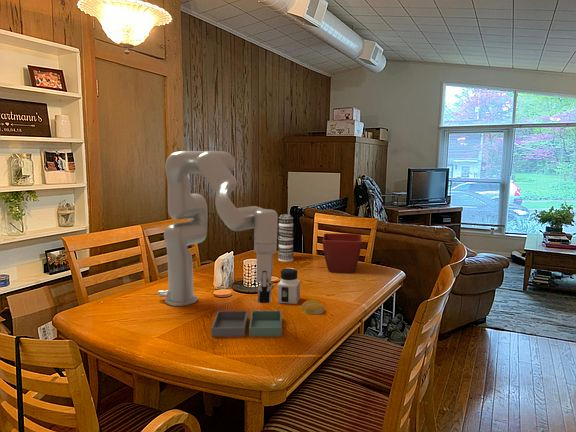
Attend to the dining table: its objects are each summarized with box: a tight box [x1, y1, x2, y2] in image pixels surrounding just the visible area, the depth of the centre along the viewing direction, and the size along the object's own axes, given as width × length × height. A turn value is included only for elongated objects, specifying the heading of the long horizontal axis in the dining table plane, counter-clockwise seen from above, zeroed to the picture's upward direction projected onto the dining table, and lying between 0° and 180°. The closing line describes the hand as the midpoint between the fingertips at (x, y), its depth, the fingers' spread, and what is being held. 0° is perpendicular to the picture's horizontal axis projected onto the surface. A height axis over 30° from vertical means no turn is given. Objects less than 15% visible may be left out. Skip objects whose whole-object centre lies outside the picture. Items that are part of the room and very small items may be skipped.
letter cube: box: [257, 284, 273, 304], centre depth 146 cm, size 4×4×4 cm
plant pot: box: [321, 233, 363, 274], centre depth 221 cm, size 19×19×17 cm
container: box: [277, 267, 301, 305], centre depth 175 cm, size 8×8×13 cm
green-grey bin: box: [248, 310, 283, 338], centre depth 147 cm, size 10×15×4 cm
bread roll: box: [300, 299, 325, 315], centre depth 164 cm, size 8×9×4 cm
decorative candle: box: [277, 213, 295, 263], centre depth 239 cm, size 9×9×25 cm
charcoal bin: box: [210, 310, 249, 338], centre depth 147 cm, size 10×15×4 cm
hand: (264, 299), depth 147 cm, fingers closed on letter cube, 4 cm apart
